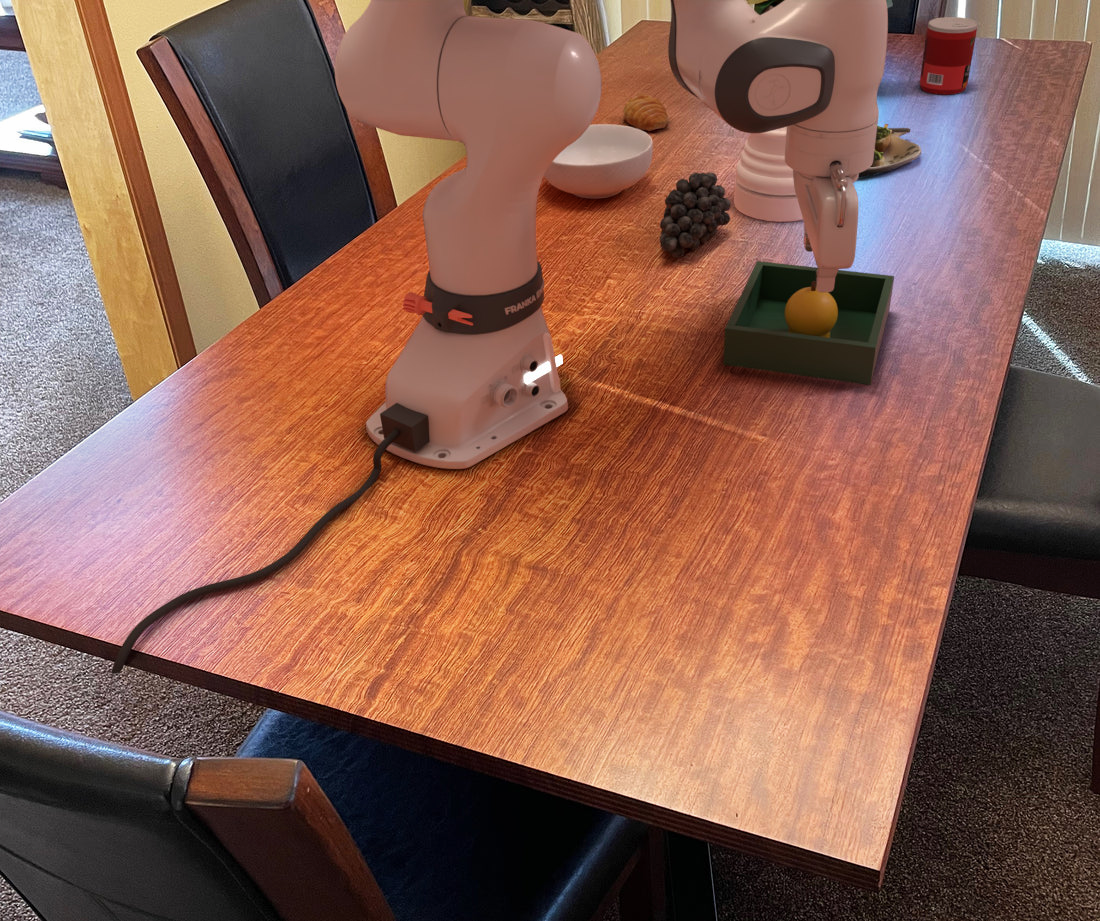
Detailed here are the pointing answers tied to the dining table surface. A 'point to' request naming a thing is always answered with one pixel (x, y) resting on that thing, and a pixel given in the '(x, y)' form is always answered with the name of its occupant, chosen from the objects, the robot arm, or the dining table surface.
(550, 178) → the cereal bowl
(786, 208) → the honey pot
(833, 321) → the orange
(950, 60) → the canned food
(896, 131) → the salad plate
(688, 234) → the fruit
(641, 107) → the pastry
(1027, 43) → the dining table surface
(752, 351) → the crate
